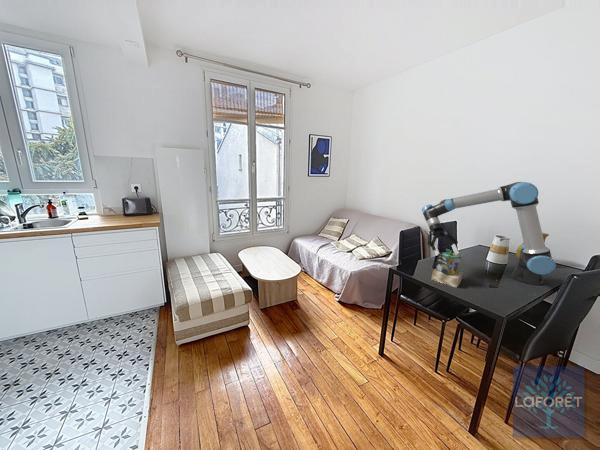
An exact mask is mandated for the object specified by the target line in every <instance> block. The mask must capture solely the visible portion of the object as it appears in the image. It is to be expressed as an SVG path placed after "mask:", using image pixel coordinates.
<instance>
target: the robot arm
mask: <svg viewBox="0 0 600 450" xmlns="http://www.w3.org/2000/svg"><path fill="white" fill-rule="evenodd" d="M498 201H499V202H507V201H508V202H509V201H510V205H511V208H512V209H514V210H516V211H515V212H516V215H517V220H518V224H519V228H520V231H521V236H522V240H523V242H524V245H523V246H522V248H521V252H520V256H519V258H518V260H519V261H518V260H517V265H516V266H515V269H514V270H513V271H512V272H511V278H512V279H513V280H516V281H518V282H520V283H524V284H527V285H534V286H540V285H543V283H544V276H543V275H548V274H550V273H552V272H553V271H555V269H556V262H555V260H554V258H553V256H552V253H551V250H550V248H549V247H547V246H546V244H545V243H544V239H543V235H542V233H543V232H542V227H541V222H540V219H539V214H538V210H537V206H538V204H539V189H538V187H537V186H536V185H534V184H533V183H532V182H531V183H530V182H526V181H517V182H513V183H509V184H506V185H502V186H499V187H498V188H495V189H491V190H485V191H482V192H478V193H472V194H466V195H462V196H457V197H453V198H448V199H446V198H445V199H441V201H440V202H439V203H437V204H435V205H432V204H426V205H424V206H422V208H421V212H422V215H423V217H424V220H425V221H426V224H427V227H428V228H429V231H428V232H427V246H429V247H430V248H431V249H432V251H434V254H435V256H437V257H438V255H439V254H440V253H441V252H440V251H439V249H438V247H437V244H435V242H436V240H437V239H442V240H445V241H446V242H447V243H449V244H450V245H451V248H452V252H453V253H454V254H456V255H459V254H460V252H459V249H458V248H459V247H458V246H457V244H458V243H459V241H458V240H457V239H456V238H455V237H454V236H453V235H452V234H451V233H450V232H449V230H446V231H444V228H443V225H442V223H441V221H440V219H439V217H440V216H442V215H444V214H448V213H449V212H453V210H455V209H460V208H465V207H471V206H476V205H481V204H487V203H488V204H489V203H492V202H493V203H494V202H498Z"/></svg>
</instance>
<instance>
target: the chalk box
mask: <svg viewBox="0 0 600 450" xmlns="http://www.w3.org/2000/svg"><path fill="white" fill-rule="evenodd" d="M439 253H440V254H439V255H437V260H436V266H435V267H436V268H435V269H436V270H438V271H440V272H442V273H444V274H446V275H451V274H459V271H460V267H461V261H462V256H461V255H459V254H457V255H456V254H455V253H454V252H453V250H450V249H448V248H445V252H444V251H442V252H439Z"/></svg>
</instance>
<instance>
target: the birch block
mask: <svg viewBox="0 0 600 450" xmlns="http://www.w3.org/2000/svg"><path fill="white" fill-rule="evenodd" d="M431 273H432V274H431V281H432V280H434V281H433V282H436V281H437V282H436V283H439V282H440V284H443V283H444V285H446V284H447V286H450V287H453V288H458V287H459V285H460V284H461V282H462V280H463V274H464V271H461V270H459V274H451V275H446V274H444V273H442V272H440V271H438V270H436V268H435V269H434V270H433V271H432V272H431Z"/></svg>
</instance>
